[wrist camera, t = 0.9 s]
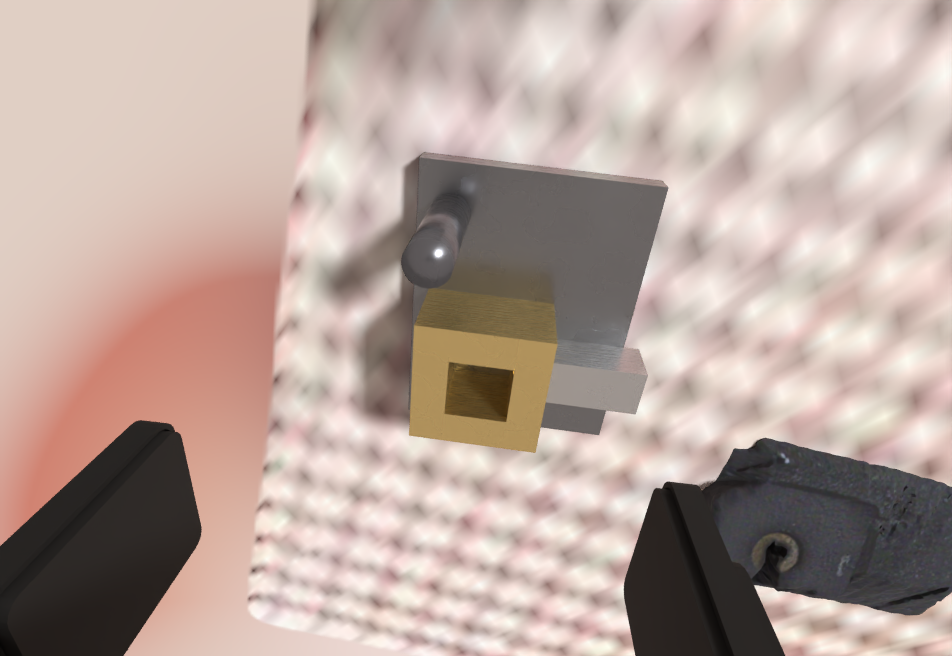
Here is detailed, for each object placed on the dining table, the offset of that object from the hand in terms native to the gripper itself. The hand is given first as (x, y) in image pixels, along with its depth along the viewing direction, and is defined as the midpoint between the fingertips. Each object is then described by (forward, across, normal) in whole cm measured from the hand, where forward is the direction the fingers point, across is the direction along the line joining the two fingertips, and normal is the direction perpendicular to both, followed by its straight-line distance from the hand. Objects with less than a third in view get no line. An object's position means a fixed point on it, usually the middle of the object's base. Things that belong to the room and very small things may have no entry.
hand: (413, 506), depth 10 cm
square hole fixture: (+24, -3, +6) cm, 25 cm away
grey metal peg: (+23, +2, 0) cm, 23 cm away
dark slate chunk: (+26, -30, +24) cm, 46 cm away
